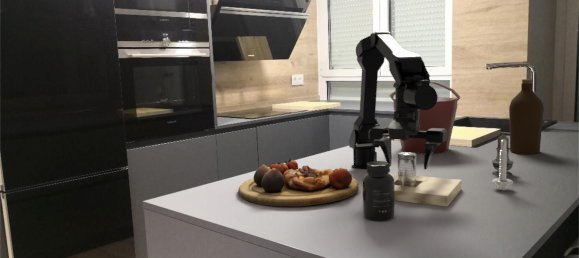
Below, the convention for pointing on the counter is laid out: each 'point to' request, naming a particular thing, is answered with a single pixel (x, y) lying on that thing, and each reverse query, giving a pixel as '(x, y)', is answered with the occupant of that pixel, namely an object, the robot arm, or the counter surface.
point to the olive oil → (525, 120)
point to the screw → (502, 169)
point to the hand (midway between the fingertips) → (407, 167)
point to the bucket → (433, 122)
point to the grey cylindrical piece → (407, 169)
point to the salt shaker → (497, 162)
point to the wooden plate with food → (297, 185)
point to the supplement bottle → (378, 192)
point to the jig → (428, 190)
